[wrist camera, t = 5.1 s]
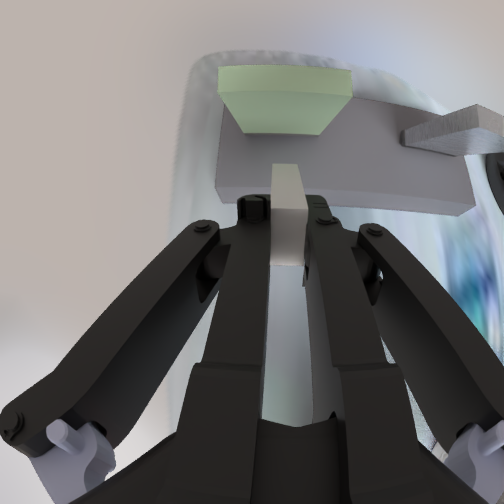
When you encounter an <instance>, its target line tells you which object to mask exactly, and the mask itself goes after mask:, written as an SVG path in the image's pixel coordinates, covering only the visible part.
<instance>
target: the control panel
mask: <svg viewBox="0 0 504 504" xmlns="http://www.w3.org/2000/svg"><path fill="white" fill-rule="evenodd" d="M438 117H441V115H438V114H434V113H430V112H426V111H422V110H418V109H414V108H410V107H405V106H401V105H396V104H391V103H385V102H380V101H374V100H368V99H361V98H353V97H352V98H351V99H350V100H349V101H348V103H347V104H346V105H345V106H344V107H343V108H342V109H341V111H340V112H339V113H338V114H337V115H336V116H335V117H334V119H333V120H332V121H331V122H330V123H329V124H328V125H327V127H326V128H325V129H324V130H323V131H322V132H321V134H320V135H319V137H308V136H283V135H244V133H243V131H242V130H241V128H240V126H239V125H238V123H237V122H236V120H235V119H234V117H233V115H232V114H231V112H230V111H229V109H228V108H227V106H226V105H225V104H224V112H223V119H222V127H221V135H220V143H219V152H218V161H217V170H216V179H215V189H216V191H217V193H218V195H219V197H220V200H221V202H222V203H237V200H238V199H239V198H240V197H242V196H245V195H251V194H271V181H272V164H297V165H298V169H299V173H300V177H301V181H302V185H303V189H304V193H305V195H321V196H322V197H324V198H325V199H326V201H327V203H328V206H343V207H360V208H374V209H388V210H400V211H411V212H422V213H432V214H441V215H450V216H459V215H461V214H463V213H464V212H466V211H468V210H469V209H471V208H473V207H474V206H476V203H475V198H474V194H473V189H472V185H471V181H470V177H469V173H468V169H467V166H466V162H465V159H464V155H462V156H456V157H451V156H447V155H443V154H438V153H433V152H428V151H423V150H418V149H413V148H407V147H402V146H401V145H400V140H399V137H400V133H401V131H402V130H406V129H409V128H411V127H414V126H417V125H419V124H422V123H424V122H427V121H430V120H433V119H435V118H438Z"/></svg>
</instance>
